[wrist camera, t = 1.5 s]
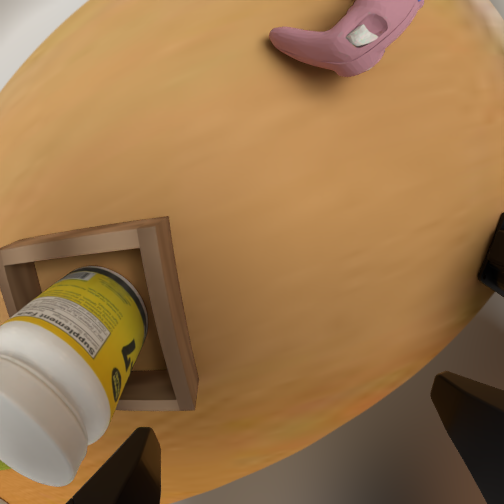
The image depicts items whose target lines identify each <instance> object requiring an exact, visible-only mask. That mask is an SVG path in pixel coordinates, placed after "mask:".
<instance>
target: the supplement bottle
mask: <svg viewBox="0 0 504 504" xmlns="http://www.w3.org/2000/svg"><path fill="white" fill-rule="evenodd" d="M147 329H148V316H147V311H146V307H145V305H144V302H143V300H142V298H141V296H140V295H139V293H138V292H137V290H136V289H135V288H134V286H133V285H132V284H131V283H130V282H129V281H128V280H127V279H125V278H124V277H123V276H121V275H120V274H118V273H116V272H114V271H112V270H110V269H107V268H104V267H100V266H85V267H81V268H78V269H76V270H74V271H72V272H70V273H69V274H67V275H66V276H65V277H63V278H62V279H60V280H59V281H58V282H56V283H55V284H53V285H52V286H51V287H49V288H48V289H47V290H45V291H44V292H43V293H41V294H40V295H39V296H37V297H36V298H35V299H33V300H32V301H31V302H30V303H28V304H27V305H26V306H25V307H23V308H22V309H21V310H19V311H18V312H17V313H16V314H14V315H13V316H12V317H11V318H9V319H8V320H7V321H6V322H4V323H3V324H2V325H1V326H0V460H1V461H2V462H4V463H5V464H6V465H8V466H9V467H11V468H12V469H14V470H15V471H17V472H18V473H20V474H22V475H23V476H25V477H27V478H29V479H31V480H33V481H36V482H38V483H41V484H45V485H49V486H56V487H60V486H65V485H67V484H69V483H70V482H72V480H73V479H74V477H75V475H76V473H77V470H78V468H79V466H80V464H81V462H82V460H83V459H84V457H85V455H86V452H87V446H88V445H90V444H92V443H94V442H96V441H97V440H98V439H99V438H100V437H101V436H102V435H103V434H104V433H105V431H106V429H107V427H108V425H109V423H110V421H111V419H112V417H113V414H114V412H115V409H116V406H117V404H118V401H119V398H120V396H121V394H122V391H123V389H124V386H125V384H126V382H127V379H128V377H129V375H130V373H131V371H132V368H133V365H134V363H135V361H136V359H137V357H138V354H139V352H140V350H141V348H142V346H143V343H144V340H145V338H146V334H147Z"/></svg>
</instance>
